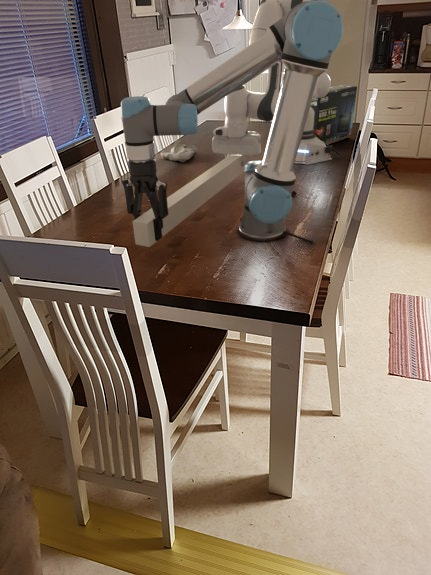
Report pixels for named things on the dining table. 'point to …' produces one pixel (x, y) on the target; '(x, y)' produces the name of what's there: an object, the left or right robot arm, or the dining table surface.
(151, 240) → the post
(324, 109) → the router box
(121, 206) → the dining table surface
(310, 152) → the right robot arm
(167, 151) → the fossil
